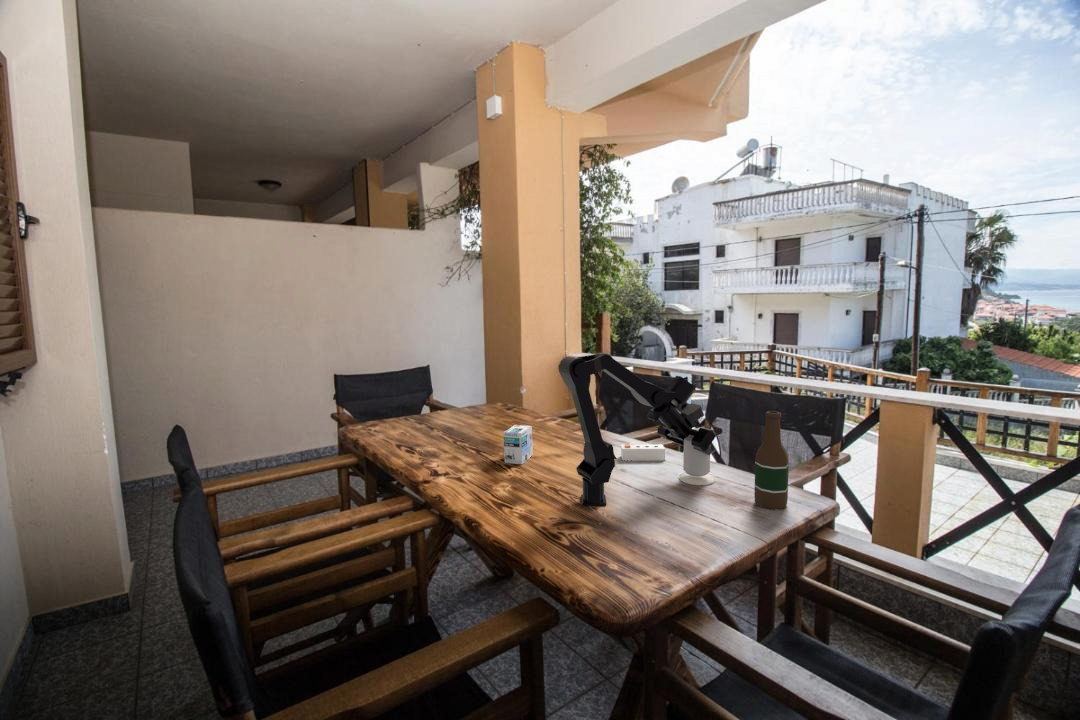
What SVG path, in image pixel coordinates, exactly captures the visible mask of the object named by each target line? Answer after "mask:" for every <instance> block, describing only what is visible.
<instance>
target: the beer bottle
mask: <svg viewBox="0 0 1080 720" xmlns="http://www.w3.org/2000/svg"><path fill="white" fill-rule="evenodd" d="M764 417H765V425H764V437H763V441H762V444H761V445H760V446H759V447H758V449H757V451H756V453H755V460H754V503H755V504H756V505H757V506H761V508H762V507H763V509H767V508H768V510H772V509H773V510H772V511H775V510H774V509H778V510H785V508H786V506H787V504H788V497H789V467H790V466H789V465H790V464H789V462H790V461H789V455H788V451H787V449H786V447H784V445H783V444H782V434H781V433H782V432H781V417H782V414H781V412H779V411H775V410H768V411H766V412H765V414H764Z"/></svg>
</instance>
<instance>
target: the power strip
mask: <svg viewBox="0 0 1080 720" xmlns="http://www.w3.org/2000/svg"><path fill="white" fill-rule="evenodd" d="M620 457H621V460H623V461H622V462H633V461H634V462H635V461H639V462H641V461H643V462H646V461H647V462H651V461H652V462H655V461H666V448H665V446H664V445H663V444H661V443H660V444H629V443H624V444H620ZM624 460H625V461H624ZM627 460H628V461H627ZM631 460H632V461H631Z"/></svg>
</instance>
